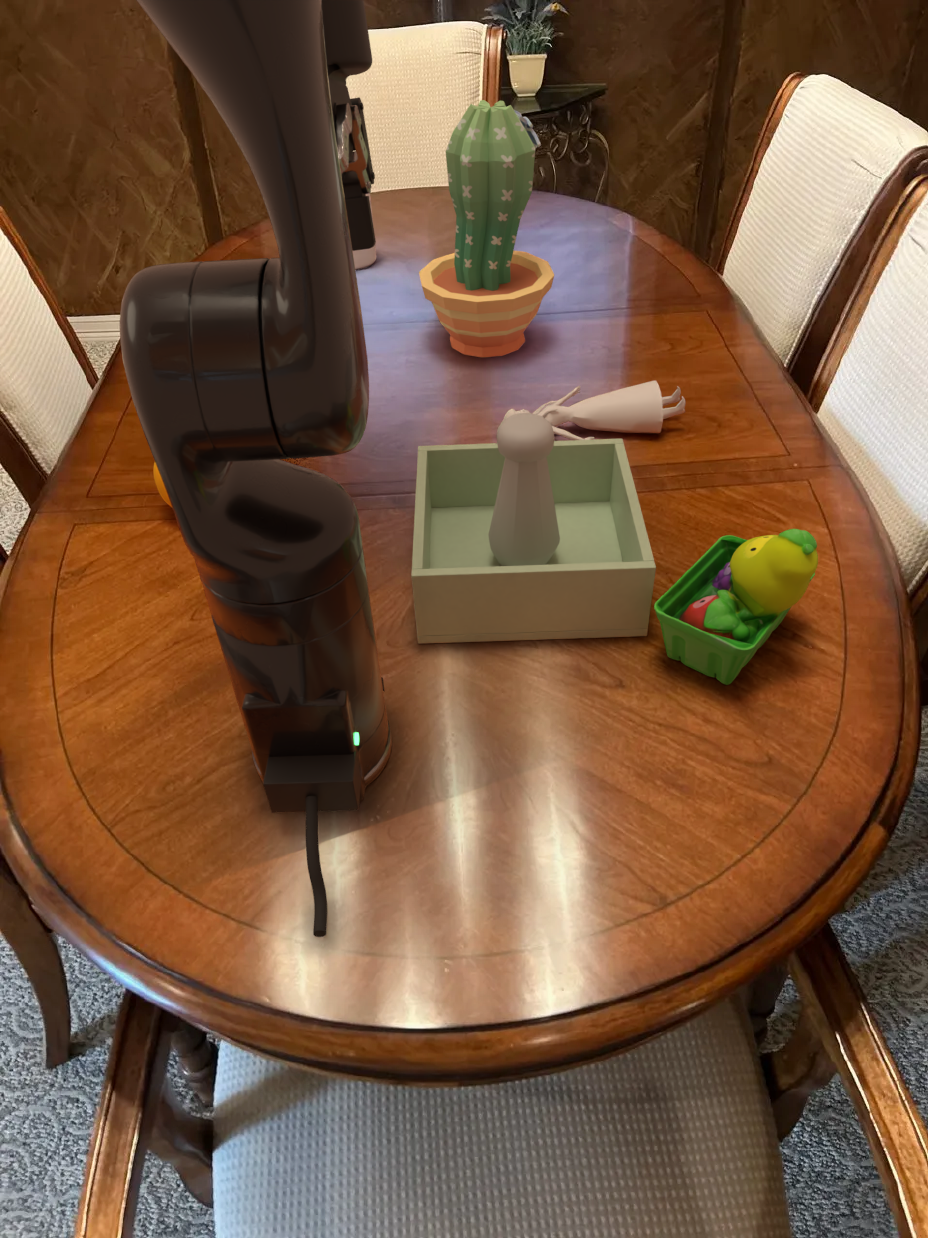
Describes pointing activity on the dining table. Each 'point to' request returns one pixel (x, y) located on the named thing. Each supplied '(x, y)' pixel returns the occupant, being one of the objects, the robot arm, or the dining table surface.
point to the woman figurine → (613, 410)
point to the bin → (530, 594)
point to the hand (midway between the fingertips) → (349, 254)
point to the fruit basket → (735, 600)
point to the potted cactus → (488, 235)
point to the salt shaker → (524, 494)
